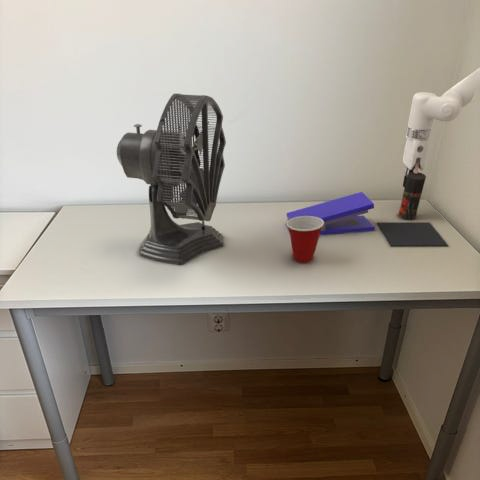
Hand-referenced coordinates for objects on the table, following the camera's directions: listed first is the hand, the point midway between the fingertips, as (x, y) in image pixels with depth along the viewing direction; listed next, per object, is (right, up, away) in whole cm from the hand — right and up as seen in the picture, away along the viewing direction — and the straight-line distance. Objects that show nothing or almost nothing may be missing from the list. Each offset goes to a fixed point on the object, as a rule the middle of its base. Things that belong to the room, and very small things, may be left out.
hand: (407, 186), depth 180 cm
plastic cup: (-40, -28, -26) cm, 56 cm away
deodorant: (0, -10, +1) cm, 10 cm away
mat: (-3, -19, -11) cm, 22 cm away
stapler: (-29, -15, -7) cm, 33 cm away
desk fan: (-79, -25, -21) cm, 86 cm away
